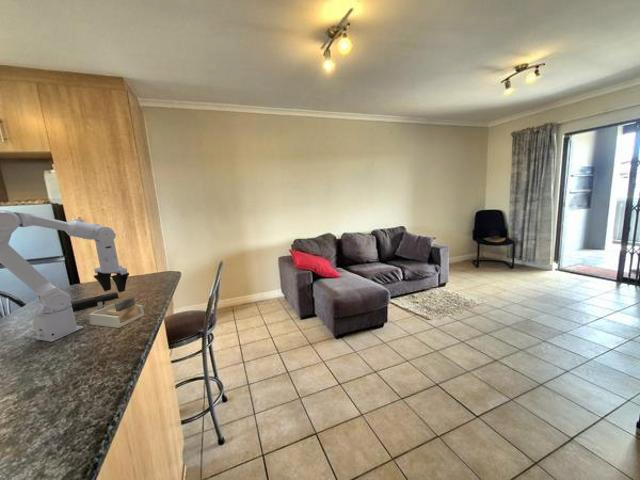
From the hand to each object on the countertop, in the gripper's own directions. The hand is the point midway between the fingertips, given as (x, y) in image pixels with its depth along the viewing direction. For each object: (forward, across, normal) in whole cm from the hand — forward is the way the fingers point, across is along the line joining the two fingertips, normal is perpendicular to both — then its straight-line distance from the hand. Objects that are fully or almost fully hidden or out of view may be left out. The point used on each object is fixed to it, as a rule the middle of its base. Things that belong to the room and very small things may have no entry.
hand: (114, 291), depth 105 cm
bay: (+9, -5, +4) cm, 12 cm away
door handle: (+10, +20, -2) cm, 22 cm away
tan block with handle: (+8, -9, +4) cm, 13 cm away
